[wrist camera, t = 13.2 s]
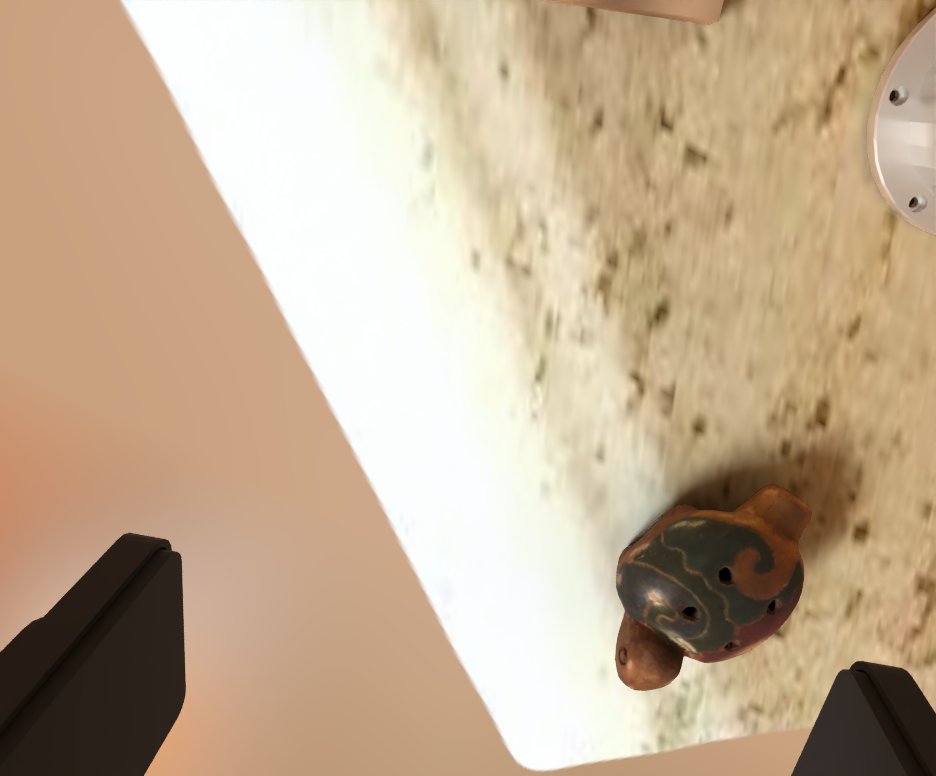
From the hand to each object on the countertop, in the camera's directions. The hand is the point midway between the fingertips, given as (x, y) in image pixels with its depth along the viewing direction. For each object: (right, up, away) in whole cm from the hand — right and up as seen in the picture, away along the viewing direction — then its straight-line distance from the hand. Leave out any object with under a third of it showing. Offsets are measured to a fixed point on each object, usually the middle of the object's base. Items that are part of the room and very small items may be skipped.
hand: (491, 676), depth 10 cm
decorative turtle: (+15, -6, +37) cm, 40 cm away
